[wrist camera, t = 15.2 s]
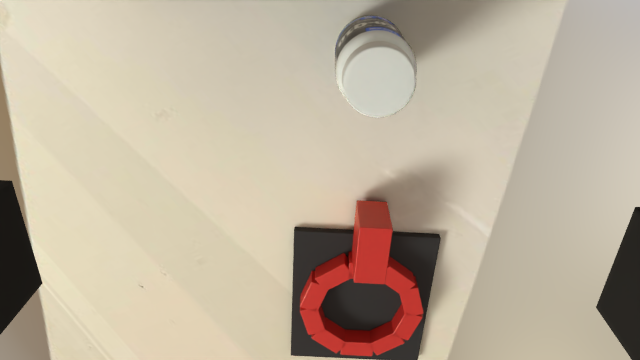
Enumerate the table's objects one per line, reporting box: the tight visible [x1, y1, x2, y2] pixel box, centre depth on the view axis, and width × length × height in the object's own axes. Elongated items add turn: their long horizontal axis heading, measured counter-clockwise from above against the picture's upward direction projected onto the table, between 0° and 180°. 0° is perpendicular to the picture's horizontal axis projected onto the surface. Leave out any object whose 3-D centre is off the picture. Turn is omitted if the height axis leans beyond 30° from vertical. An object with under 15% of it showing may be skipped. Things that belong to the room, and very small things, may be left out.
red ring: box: [300, 200, 424, 356], centre depth 40 cm, size 15×11×4 cm
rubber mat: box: [291, 227, 441, 360], centre depth 43 cm, size 12×14×1 cm
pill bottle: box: [335, 16, 417, 118], centre depth 30 cm, size 5×5×8 cm
